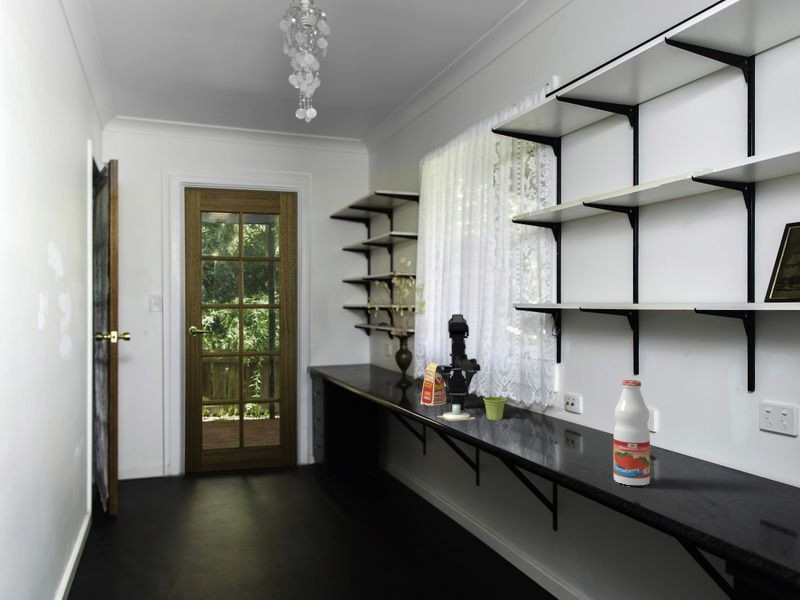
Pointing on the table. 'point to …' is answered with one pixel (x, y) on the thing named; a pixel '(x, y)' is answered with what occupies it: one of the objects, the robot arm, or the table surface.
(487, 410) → the plant pot
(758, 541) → the table surface
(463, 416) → the lid
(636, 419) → the fruit juice
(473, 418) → the mat
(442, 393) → the milk carton
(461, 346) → the robot arm
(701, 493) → the table surface
